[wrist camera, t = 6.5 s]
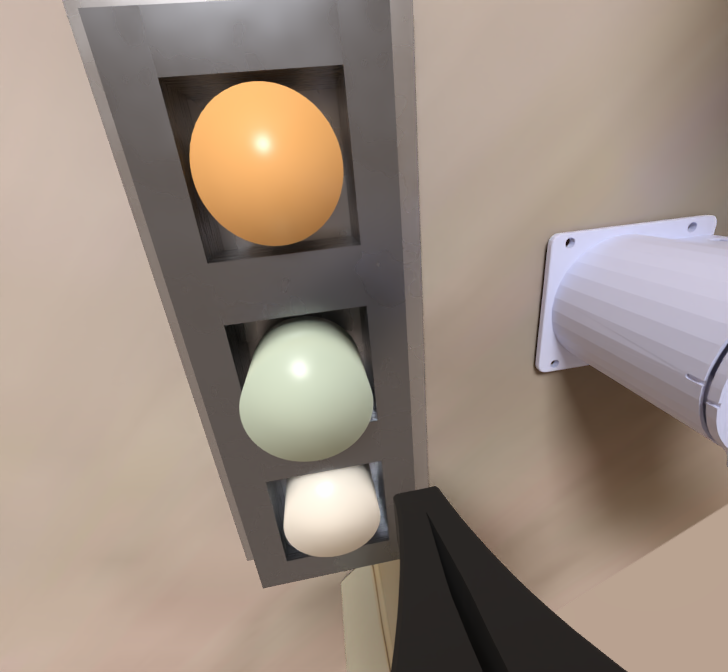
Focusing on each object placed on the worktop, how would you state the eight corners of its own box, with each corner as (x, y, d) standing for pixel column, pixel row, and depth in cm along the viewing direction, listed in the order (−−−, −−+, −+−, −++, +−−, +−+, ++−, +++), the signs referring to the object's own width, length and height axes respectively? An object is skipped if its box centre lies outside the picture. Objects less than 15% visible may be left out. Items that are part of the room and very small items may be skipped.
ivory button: (365, 433, 20) (376, 477, 17) (372, 496, 22) (383, 546, 19) (279, 448, 20) (274, 496, 17) (294, 511, 22) (292, 565, 19)
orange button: (327, 100, 14) (333, 75, 11) (341, 227, 16) (351, 237, 13) (200, 110, 14) (169, 87, 10) (230, 240, 15) (212, 253, 12)
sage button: (354, 308, 15) (367, 339, 12) (365, 402, 17) (378, 449, 14) (241, 324, 15) (224, 360, 12) (264, 419, 17) (255, 471, 14)
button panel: (404, -9, 14) (439, -78, 10) (425, 511, 25) (445, 566, 21) (77, 8, 13) (-14, -64, 9) (249, 546, 24) (239, 611, 20)
